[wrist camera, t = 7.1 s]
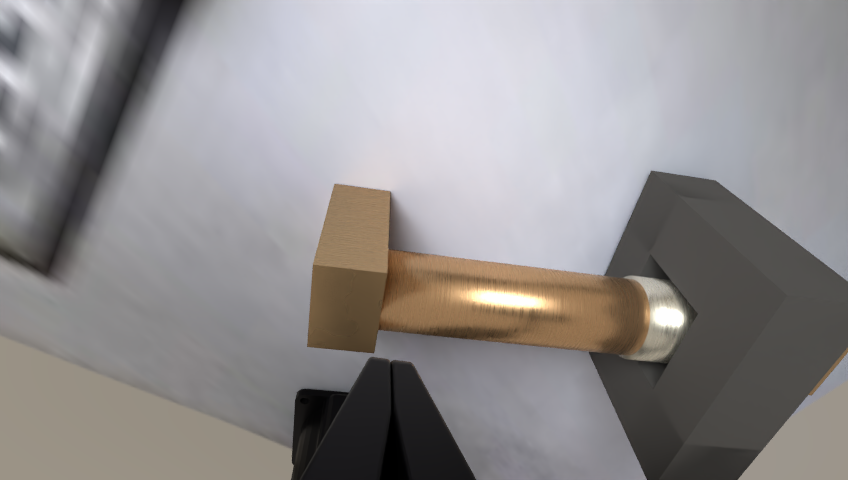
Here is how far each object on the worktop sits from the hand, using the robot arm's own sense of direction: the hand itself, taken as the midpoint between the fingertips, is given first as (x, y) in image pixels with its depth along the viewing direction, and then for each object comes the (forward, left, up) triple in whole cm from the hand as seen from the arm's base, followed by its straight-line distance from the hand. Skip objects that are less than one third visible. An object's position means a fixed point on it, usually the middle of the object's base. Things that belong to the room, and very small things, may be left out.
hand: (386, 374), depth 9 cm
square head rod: (-4, -8, -12) cm, 15 cm away
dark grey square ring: (-4, -12, -12) cm, 18 cm away
